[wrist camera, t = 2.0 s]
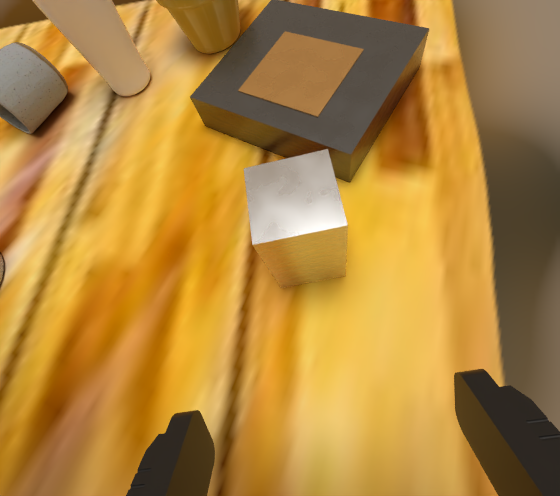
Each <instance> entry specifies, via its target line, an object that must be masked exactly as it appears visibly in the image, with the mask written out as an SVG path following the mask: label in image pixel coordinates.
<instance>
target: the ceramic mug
mask: <svg viewBox="0 0 560 496" xmlns="http://www.w3.org/2000/svg"><path fill="white" fill-rule="evenodd" d="M67 92H68V86H67V83H66V81H65V79H64V77H63V76H62V75H61V74H60V72H59V71H58V70H57V69H56V68H55V67H54V66H53V65H52V64H51V63H50V62H49V61H48V60H47V59H46V58H45V57H44V56H42V55H41V54H40V53H38V52H37V51H36V50H34V49H33V48H31V47H29V46H27V45H25V44H22V43H18V42H15V43H12V44H9V45H7V46H5V47H3V48H2V49H0V117H1V118H3V119H4V120H5V121H7V122H9V123H10V124H12V125H13V126H15V127H16V128H18V129H20V130H22V131H24V132H26V133H29V134H32V133H33V132H34V131H35V130H36V129H37V128H38V127H39V126H40V125H41V124H42V123H43V121H44V120H45V119H46V118H47V117H48V116H49V115H50V114H51V112H52V111H53V110H54V109H55V108H56V107H57V106H58V105H59V104H60V103H61V102H62V101H63V99H64V98H65V96H66V94H67Z"/></svg>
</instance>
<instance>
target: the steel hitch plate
mask: <svg viewBox="0 0 560 496" xmlns="http://www.w3.org/2000/svg"><path fill="white" fill-rule="evenodd" d="M428 32H429V28H424V27H418V26H413V25H408V24H402V23H397V22H392V21H386V20H381V19H376V18H370V17H365V16H360V15H354V14H349V13H344V12H338V11H333V10H328V9H322V8H317V7H312V6H306V5H301V4H296V3H290V2H285V1H280V0H271V1H270V2H269V4H268V5H267V6H266V7H265V8H264V10H263V11H262V12H261V13H260V14H259V16H258V17H257V18H256V19H255V20H254V21H253V23H252V24H251V25H250V26H249V27H248V29H247V30H246V31H245V32H244V33H243V35H242V36H241V37H240V38H239V39H238V41H237V42H236V43H235V44H234V45H233V46H232V48H231V49H230V50H229V51H228V52H227V54H226V55H225V56H224V57H223V58H222V60H221V61H220V62H219V63H218V64H217V66H216V67H215V68H214V69H213V70H212V71H211V73H210V74H209V75H208V76H207V77H206V79H205V80H204V81H203V82H202V83H201V85H200V86H199V87H198V88H197V89H196V91H195V92H194V93H193V94H192V95H191V96H190V98H191V100H192V102H193V104H194V106H195V107H196V109H197V111H198V113H199V115H200V117H201V119H202V121H203V122H204V124H205V126H207V127H209V128H212V129H215V130H217V131H220V132H222V133H225V134H227V135H230V136H232V137H235V138H238V139H240V140H243V141H245V142H248V143H250V144H253V145H255V146H258V147H261V148H263V149H266V150H268V151H271V152H273V153H276V154H278V155H281V156H284V157H286V158H291V157H295V156H300V155H304V154H308V153H312V152H317V151H321V150H325V149H328V151H329V155H330V159H331V163H332V167H333V171H334V174H335V177H337V178H340V179H342V180H345V181H347V182H350V181H351V179H352V178H353V176H354V174H355V173H356V171H357V169H358V168H359V166H360V164H361V163H362V161H363V159H364V158H365V156H366V155H367V153H368V151H369V150H370V148H371V146H372V145H373V143H374V141H375V140H376V138H377V136H378V135H379V133H380V131H381V130H382V128H383V126H384V125H385V123H386V122H387V120H388V118H389V117H390V115H391V113H392V112H393V110H394V108H395V107H396V105H397V103H398V102H399V100H400V98H401V97H402V95H403V94H404V92H405V90H406V89H407V87H408V85H409V84H410V82H411V80H412V79H413V77H414V75H415V74H416V72H417V70H418V69H419V67H420V64H421V60H422V56H423V52H424V48H425V44H426V40H427V36H428Z"/></svg>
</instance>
